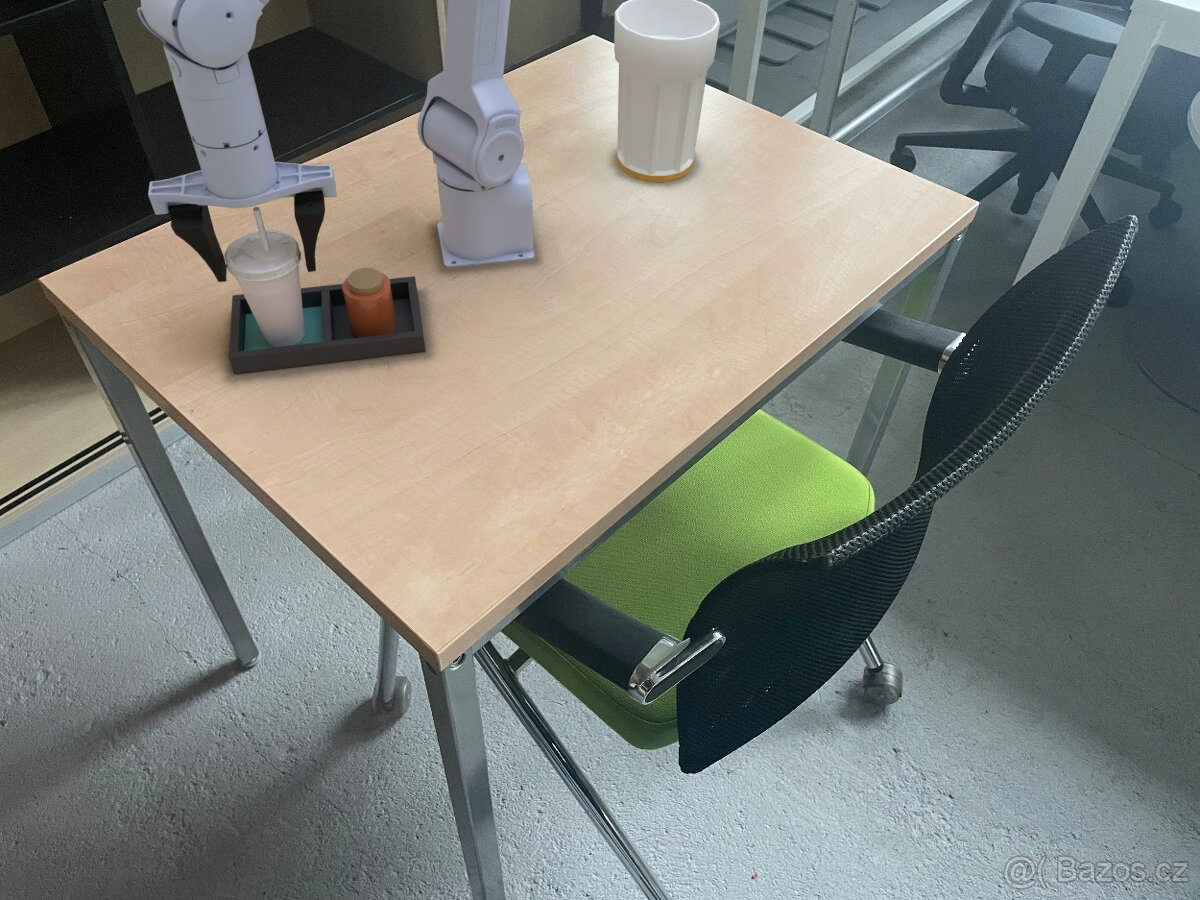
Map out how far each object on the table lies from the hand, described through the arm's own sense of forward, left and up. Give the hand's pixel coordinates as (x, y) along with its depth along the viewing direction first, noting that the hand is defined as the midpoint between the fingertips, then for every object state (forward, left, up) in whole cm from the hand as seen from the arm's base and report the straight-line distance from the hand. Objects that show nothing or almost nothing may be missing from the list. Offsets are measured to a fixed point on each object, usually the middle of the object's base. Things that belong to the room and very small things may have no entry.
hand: (267, 269), depth 85 cm
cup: (-43, -25, -8) cm, 50 cm away
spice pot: (-8, 0, -8) cm, 11 cm away
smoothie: (0, 0, -8) cm, 8 cm away
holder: (-4, 0, -8) cm, 9 cm away
